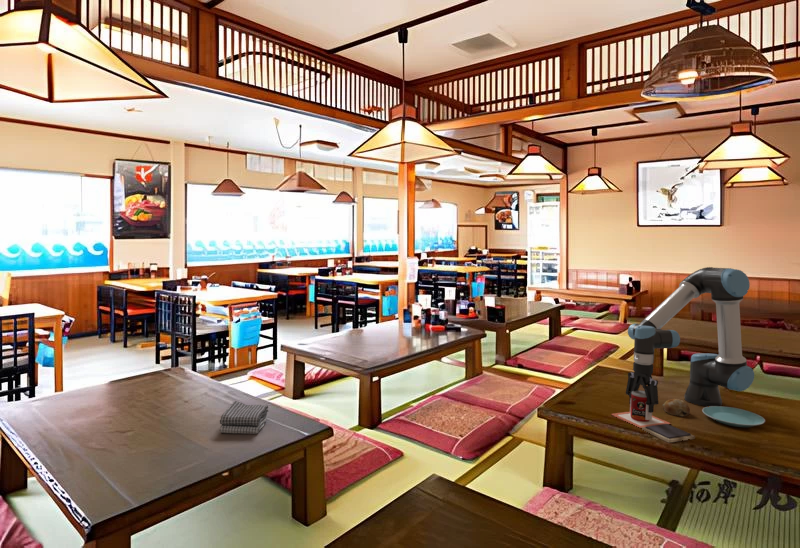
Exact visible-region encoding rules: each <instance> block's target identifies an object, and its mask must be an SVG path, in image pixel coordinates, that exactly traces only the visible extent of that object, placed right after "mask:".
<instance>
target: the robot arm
mask: <svg viewBox="0 0 800 548" xmlns="http://www.w3.org/2000/svg"><path fill="white" fill-rule="evenodd" d="M750 285H751V284H750V279H749V277H748V275H747V274H746V273H745V272H744V271H742V270H741V269H736V268H735V269H734V268H732V267H730V268H729V267H728V268H727V267H712V266H711V267H710V266H709V267H708V266H707V267H703V268H700V269H698V270H696V271H694V272H692V273H690V274H689V275H687V276H686V277H685V278H684V279H683V280H682V281H681V282H679V285H678V287H677V288H676V289H675V290H674V291H673V292H672V293H670V295H669V296H667V297H666V299H664V301H662V302H661V303H660V304H659V305H658V306H657V307H656V308H655V309H653V311H651V312H650V314H648V315H647V316H646V317H645V318H643V320H641V322H640V323H633V324H631V325H629V326H628V329H627V334H628V337H629V339H631V340H634V343H633V344H634V348H633V361H634V362H633V364H632V365H633V366H632V372H628V373H627V377H628V378H627V385H626V388H625V395H627V396H628V397H629V401H628V403H629V412H630V413H631V394H632V391H638V390H639V388H640V387H641V386H642V389H643V391H645V394H646V396H647V402H648V404H646V416H645V420H652V416H653V413H654V407H655V405H656V406H657V405H659V394H658V393H659V392H658V384H659V381H658V380H657V379H656V380H655V379H654V378H653V376H652V374H653V373H654V358H655V355H654V354H655V349H672V348H677V347H678V346H679V345H680V343H681V337H680V334H679V332H678V331H676V330H674V329H662V328H663V327H664V326H665V325H666V324H667V323H668V322H670V320H671V319H672V318H674V317H675V316H676V315H677V314H678V313H680V311H681V310H682V309H683V308H684V307H686V306H687V304H689V303H690V302H691V301H692V300H693V299H697V298H699V297H700V296H702V295H703V294H707V293H708V294H711V295H710V297H711V300H712V302H714V303H715V310H716V327H717V330H716V331H717V344H718V354H717V353H708V352H707V353H704V352H703V353H699V352H697V353H693V354H692V355H691V358H690V364H689V365H690V366H689V384H688V386H687V388H686V391H685V392H684V395H683V396H684V397H683V398H685V399H684V400H685V401H686V402H687V403H690V402H691V403H690V404H693V403H694V404H693V405H696V404H698V405H697V406H701V405H702V406H701V407H708V406H722V405H723V399H722V396H721V391H720V389H719V386H720V387H723V388H726V389H728V390H730V391H731V390H732V391H737V392H744V391H746V390H748V388H750V386H751V385H752V384H753V382H754V380H755V371H754V369H753V368H752V367H750V366H749V365H748V363H747V358H746V357H745V356H743V345H742V331H741V329H742V328H741V327H742V326H741V325H742V324H741V314H740V313H741V310H740V309H741V308H740V303H741V302H742V301H743V300H744V296H746V295H747V294H748V291H749V289H750Z"/></svg>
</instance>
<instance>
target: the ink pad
mask: <svg viewBox="0 0 800 548" xmlns="http://www.w3.org/2000/svg"><path fill="white" fill-rule="evenodd" d="M643 430H644V431H643ZM641 431H643V432H645V431H646V432H645V433H647V432H648V433H647V434H649V433H650V435H652V436H654V437H655V438H658V439H660V440H662V441H664V442H667V443H669V444H670V443H675V442H681V441H682V440H683V441H689V440H688V439H690V440H695V439H696V436H695V435H693V434H692V433H689V432H688V431H685V430H682V429H681V428H679V427H675V426H673V425H669V424H660V425H653V426H646V427H642V430H641Z"/></svg>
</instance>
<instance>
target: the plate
mask: <svg viewBox="0 0 800 548" xmlns="http://www.w3.org/2000/svg"><path fill="white" fill-rule="evenodd" d="M701 411H702V413H703V414H704V415H705V416H707V417H708V418H710V419H712V420H714V421H715V420H716V421H715V422H718V423H720V424H723V425H727V426H731V427H738V428H752V427H757V426H760V425H761V426H762V425H763V424H765V423H766V419H765V418H764V417H763V416H761V415H760V414H757V413H755V412H752V411H749V410H747V409H746V410H745V409H742V408H737V407H733V406H732V407H731V406H724V405H723V406H722V405H721V406H709V407H708V406H704V407H703V408H702V409H701Z"/></svg>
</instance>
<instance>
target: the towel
mask: <svg viewBox="0 0 800 548" xmlns="http://www.w3.org/2000/svg"><path fill="white" fill-rule="evenodd" d="M268 408H269V405H267V404H245V403H243V402H240V401H238V400H234V401H233V402H232V403H231V404H230V406H228V408H227V409H226V410H225V411H224V412H223V414H222V415H221V417H220V420H219V424H220V429H219V432H220V433H221V434H222V433H223V434H242V435H243V434H244V435H245V434H246V435H247V434H250V435H252V434H253V435H255V434H259V432H260V431H261V430H262V428H263V427H265V424H266V423H265V422H266V421H267V419H268V417H269V415H268V412H269V409H268Z"/></svg>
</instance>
